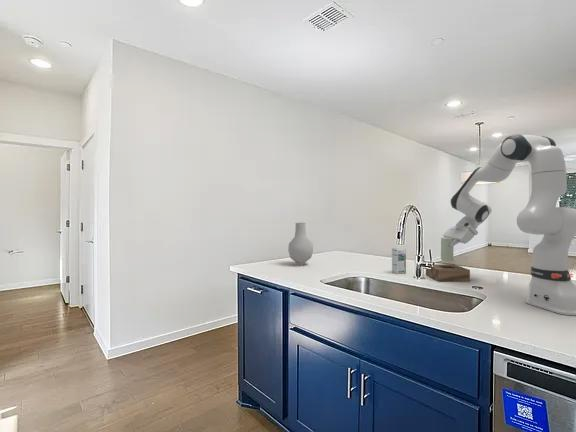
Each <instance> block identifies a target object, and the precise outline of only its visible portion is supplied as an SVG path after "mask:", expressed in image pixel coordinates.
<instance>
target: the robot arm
mask: <svg viewBox="0 0 576 432" xmlns="http://www.w3.org/2000/svg"><path fill="white" fill-rule="evenodd" d="M519 161H520V162H528V163H529V164H530V169H531V171H530V173H531V174H530V175H531V191H530V198H529V200H528V202H527V204H526V206H525V207H524V208H523V209H522V210H520V211H519V213H518V215H517V217H516V225H517V227H518V229H519V230H520V231H521V232H522V233H526V234H531V235H536V236H537V235H538V236H539V235H543V237H542V239H541V241H540V242H539V243H538V244H535V246H534V247H533V249H532V266H530V276H531V279H530V281H529V283H528V289H527V295H526V299H525V300H524V303H526V304H528V305H532V306H534V307H537V308H540V309H544V310H547V311H550V312H553V313H557V314H559V315H566V316H567V315H568V316H576V285H575V284H574V283H573V281H572V278H574V276H573V275H574V273H570V272H569V270H568V258H569V250H570V247H571V244H572V242H573V240H574V238H575V236H576V208H572V207H568V206H561V207H560V206H557V203H558V200H559V198H560V197H562V196H563V195H565V193H567V189H568V188H567V185H568V184H567V183H568V182H567V167H566V161H565V156H564V153H563V151H562V149H561V148H560V147H558V146H557V144H556V142H555V140H554V139H552V138H551V137H548V136H543V135H542V136H540V135H535V134H513V135H508V136H507V137H506V138H504V140H503V141H502V142H501V143H499V144H498V146H497V147H496V148H495V150H494V151H493V152H492V153H491V155H490V157H489V158H488V160H487V162H486V163H485V164H484V165H483V166H478V167H477V168H476V169H474V171H473V172H471V174H469V177H468V178H467V179H466V180H465V181H464V183H463V184H462V185H461V187H460V188H459V189H458V190H457V191H456V192H455V194H454V195H453V196H452V197H451V199H450V206H451V208H452V209H454V210H457V211H459V213H462V214H464V215H465V216H463V217H462V218H461V219H460V220H458V221H457V223H456V224H455V226H451V227H449V228H448V229H447V230H446V231H445V232H443V234H442V237H443V238H453V239H454V241H453V242H452V243H450V244H449V245H448V246H449V247H453V248H454V246H455V245H458V244H459V243H460V244H464V245H465V244H467V243H469V242H470V241H471V240H472V239H473V238H474V237H475V236H477V235H478V234H479V232H478V230H477V229H478V227H479V225H481V224H483V223H484V222H485V221H486V220H487V218H489V216H490V215H491V213H492V211H493V209H492V207H491V206H490V205H489V204H488V203H487V202H484V201H481V200H479V199H477V198H475V197H474V196H471V194H470V191H471V190H472V189H473V188H474V186H476V184H477V183H478V182H488V183H499V182H502V181H504V180H506V179H507V178H508V177H509V176H510V175H511V173H512V172H513V170H514V168H515V167H516V165H517V163H518V162H519Z"/></svg>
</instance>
